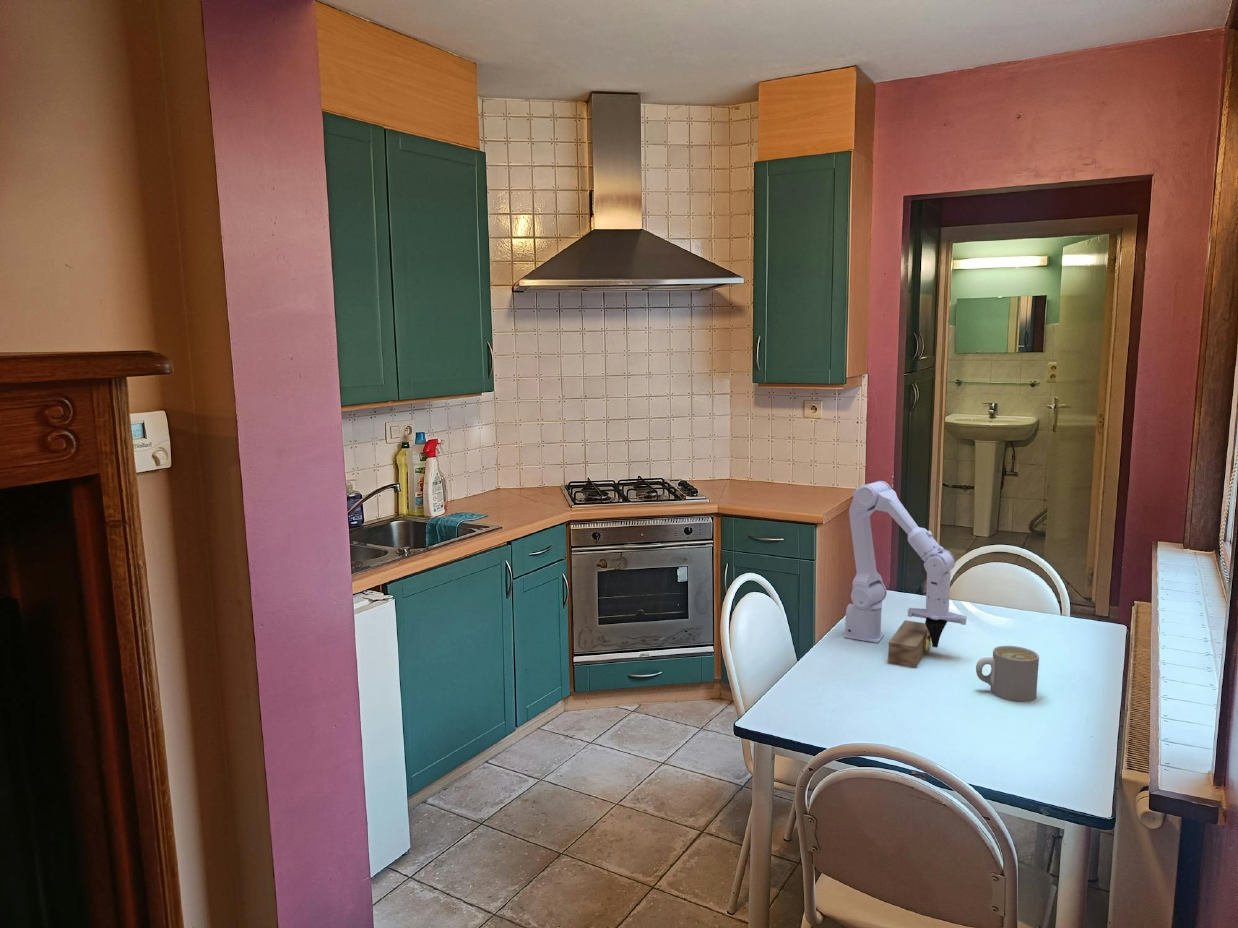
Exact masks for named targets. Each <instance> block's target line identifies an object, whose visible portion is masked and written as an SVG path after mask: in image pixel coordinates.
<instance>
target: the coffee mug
mask: <svg viewBox="0 0 1238 928" xmlns="http://www.w3.org/2000/svg"><path fill="white" fill-rule="evenodd" d="M1039 660H1040V655H1039V654H1038V653H1037V652H1036V651H1034V650H1031V649H1029V648H1026V647H1022V646H1015V645H998V646H996V647H994V648H993V650H992V657H991V656H990V657H988V656H987V657H982V658H980V659H978V661H977V662H976V665H975V666H976V667H975V670H976V671H975V672H976V676H977V678H978V679H979V680H980V681H982V682H983V683H986V684H988V685H989V686H990V692H991V694H992V695H994V696H996V697H998V698H999V699H1003V700H1006V701H1011V702H1016V703H1018V702H1019V703H1026V702H1031V701H1034V700H1036V698H1037V691H1038V690H1037V689H1038V677H1039V674H1038V673H1039V663H1040V661H1039ZM986 665H990V667H991V669H990V673H989V674H987V675H984V674H983V668H984V667H985V666H986Z"/></svg>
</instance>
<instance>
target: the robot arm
mask: <svg viewBox="0 0 1238 928" xmlns="http://www.w3.org/2000/svg"><path fill="white" fill-rule="evenodd" d="M852 498H853V499H851V500H852V501H851V504H850V506H849V509H848V516H849V524H850V525H849V526H850V531H851V532H850V533H851V540H852V547H853V554H854V564H855V571H856V573H855V576H854V578H853V580H852V589H851V590H852V591H851V593H850V599H851V601H852V603H848V604H847V607H846V610H845V623H844V624H845V625H844V628H845V629H844V635H843V636H844V638H847V639H852V640H859V641H864V642H871V643H874V644H875V643H876V644H878V643H880V641H881V640H882V639H883V637H884V636H885V632H881V629H882V613H883V611H882V610H883V609H882V608H883V601H884V600H885V599H886V598H887V596H888V595H887V594H888V591H887V588H886V587H887V586H885V583H884V582H883V578H882V577H883V576H882V575H881V574H880V573H879V572H878V570H877V563H876V557H875V548H874V541H873V532H872V525H871V518H870V517H871V515H872V514H873V513H874V512H875V511H880V512H883V513H887V514H888V515H890V517H891V518H892V519H893V520H894V521H895V522H896V523H897V524H898V525H899V527H900V528H902V530H903V531H904V532H905V533H906V534H907V542H908V544H909V545H910V546H911V548H913V550H914V552H916V554H917V555H918V556H919V557H920V559H921V560H922V561H923V567H924V570H925V572H926V574H927V579H926V593H925V594H926V597H925V598H926V599H925V608H918V607H917V608H916V607H909V608H908V609H907V617H909V618H913V617H915V618H920V619H925V622H924V623H925V624H926V627H927V629H928V631H929V633H930V637H931V647H932V648H938V646H939V642H940V638H941V636H942V633H943V631H944V629H945V627H946V625H947V624H948V623H954V624H959V625H962V626H966V625H967V619H968V618H967V617H968V616H967V615H962V614H959V613H958V614H957V613H954V612H951V611H950V596H951V595H950V594H951V593H950V592H951V574H952V573H951V570H953V569H954V568H955V564H956V561H955V560H956V559H955V557H954V555H953V553H952V552H951V551H949V550H947V549H945V548H944V547H943V546H942V545H940V544H939V543H938V542H937V540H936V539H935V538H934V537H933V536H932V535H933V533H932V532H931V530H927V529H926V528H924V527H920V526H919V525H918V524H917V522H915V520H914V519H913V517H912V516H911V515H910V513H909V512H908V510H907V509H906V508H905V507H904V505H903V504H902V502H901V501H900V499H899V498H898V495H897V492H896V491H895V490H894V489H892V487H891V486H890V484H888V483H887V482H886V481H883V480H878V481H875V482H872V483H867V484H862V485H860V486H858V487H857V488H856V489H855V490H854V491H853V492H852Z"/></svg>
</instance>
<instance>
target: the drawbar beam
mask: <svg viewBox="0 0 1238 928" xmlns="http://www.w3.org/2000/svg"><path fill="white" fill-rule="evenodd" d="M894 634H895V635H892V637H891V639H890V640H889V641H888V653H887V663H888V664H891V665H897V666H898V665H899V666H904V667H907V668H913V669H917V668H918V665H919V664H920V662H921V660H922V658H923V656H924V655H925V653H926V652H924V650H923V646H924V638H925V635H926V634H929V635H930V633H929V631H928V629H927V627H926V624H925V622H920V621H919V622H918V621H912V620H907V619H905V620H904V621H903V622H902V623H901V625H900V627H899V628H898V629H897V630H896V631H895V633H894Z"/></svg>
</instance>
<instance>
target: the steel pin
mask: <svg viewBox="0 0 1238 928" xmlns="http://www.w3.org/2000/svg"><path fill="white" fill-rule="evenodd" d="M893 634H894V635H895V633H893ZM894 635H893V636H894ZM931 647H932V641H931V637H930V635H929V634H926V635H925V638H924V646H923V650H924V652H925V653H928V654H929V653H930V652H931Z"/></svg>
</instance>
